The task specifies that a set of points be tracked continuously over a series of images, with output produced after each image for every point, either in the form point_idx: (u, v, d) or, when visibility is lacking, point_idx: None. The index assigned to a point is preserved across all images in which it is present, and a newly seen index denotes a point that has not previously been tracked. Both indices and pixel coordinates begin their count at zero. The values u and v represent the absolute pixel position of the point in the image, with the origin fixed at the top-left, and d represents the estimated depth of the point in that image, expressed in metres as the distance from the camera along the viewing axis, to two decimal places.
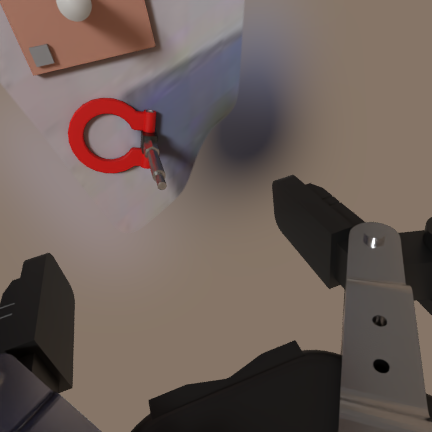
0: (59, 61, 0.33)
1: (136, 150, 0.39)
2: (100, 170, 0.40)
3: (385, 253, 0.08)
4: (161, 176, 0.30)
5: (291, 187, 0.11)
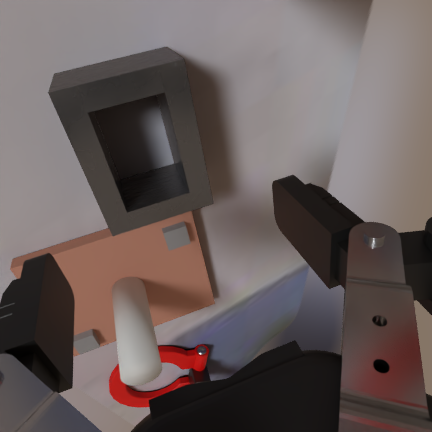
0: (105, 339, 0.28)
1: (184, 384, 0.35)
2: (142, 406, 0.35)
3: (385, 253, 0.08)
4: None
5: (291, 187, 0.11)
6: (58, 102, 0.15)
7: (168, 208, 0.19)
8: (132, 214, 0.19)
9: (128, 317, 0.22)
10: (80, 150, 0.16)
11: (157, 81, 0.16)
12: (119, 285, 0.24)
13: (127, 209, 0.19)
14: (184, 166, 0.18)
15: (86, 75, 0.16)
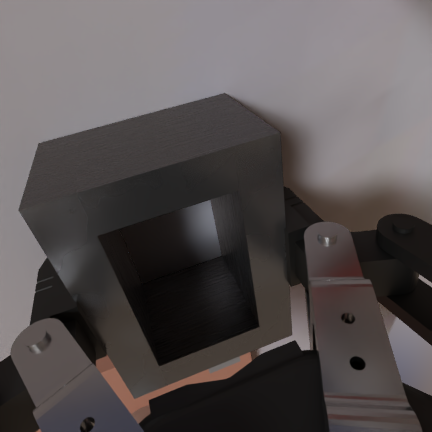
0: None
1: None
2: None
3: (335, 252, 0.09)
4: None
5: None
6: (39, 225, 0.07)
7: (224, 350, 0.12)
8: (167, 367, 0.11)
9: None
10: (82, 294, 0.09)
11: (228, 173, 0.08)
12: (138, 421, 0.17)
13: (159, 358, 0.12)
14: (256, 294, 0.11)
15: (94, 158, 0.09)
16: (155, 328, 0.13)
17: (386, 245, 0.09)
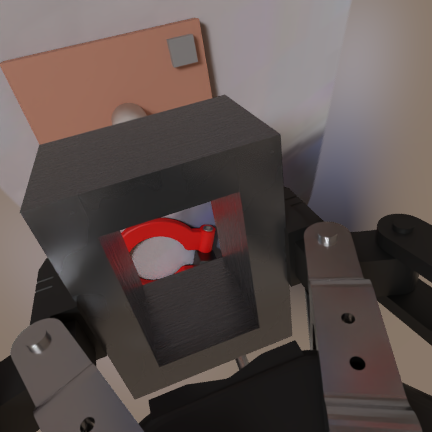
0: None
1: None
2: None
3: (335, 251, 0.09)
4: None
5: None
6: (41, 226, 0.07)
7: (224, 351, 0.12)
8: (168, 367, 0.11)
9: None
10: (83, 295, 0.09)
11: (228, 175, 0.08)
12: (120, 107, 0.22)
13: (159, 358, 0.12)
14: (256, 295, 0.11)
15: (95, 160, 0.09)
16: (155, 329, 0.13)
17: (386, 245, 0.09)
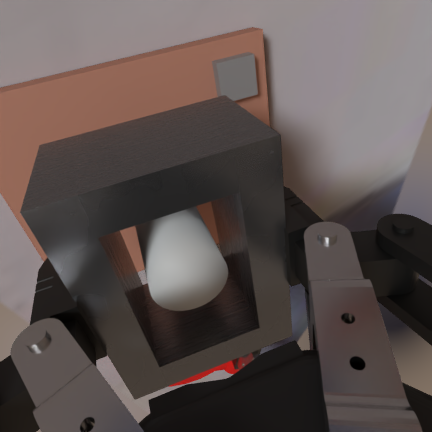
0: None
1: None
2: None
3: (335, 251, 0.09)
4: None
5: None
6: (41, 226, 0.07)
7: (224, 351, 0.12)
8: (168, 368, 0.11)
9: None
10: (83, 295, 0.09)
11: (228, 175, 0.08)
12: None
13: (159, 358, 0.12)
14: (256, 295, 0.11)
15: (95, 160, 0.09)
16: (155, 329, 0.13)
17: (386, 245, 0.09)
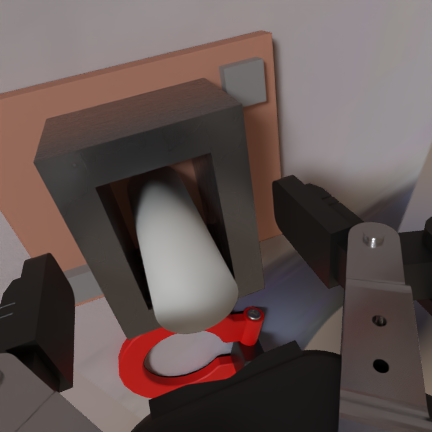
0: None
1: (225, 365, 0.24)
2: None
3: (384, 253, 0.08)
4: None
5: (291, 187, 0.11)
6: (49, 175, 0.09)
7: None
8: None
9: (164, 209, 0.11)
10: (83, 238, 0.11)
11: (201, 137, 0.10)
12: (142, 174, 0.14)
13: (149, 304, 0.14)
14: (230, 247, 0.13)
15: (93, 127, 0.11)
16: (146, 282, 0.15)
17: None
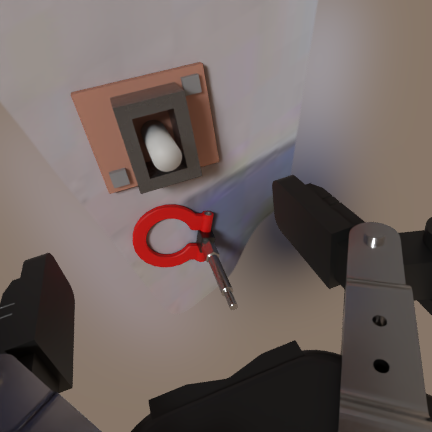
0: (133, 180, 0.35)
1: (193, 246, 0.42)
2: (158, 265, 0.42)
3: (385, 253, 0.08)
4: (231, 295, 0.33)
5: (291, 187, 0.11)
6: (117, 113, 0.28)
7: (174, 177, 0.32)
8: (153, 180, 0.32)
9: (156, 131, 0.30)
10: (126, 140, 0.29)
11: (169, 102, 0.28)
12: (147, 123, 0.32)
13: (150, 177, 0.32)
14: (184, 151, 0.31)
15: (130, 99, 0.29)
16: (149, 171, 0.33)
17: None
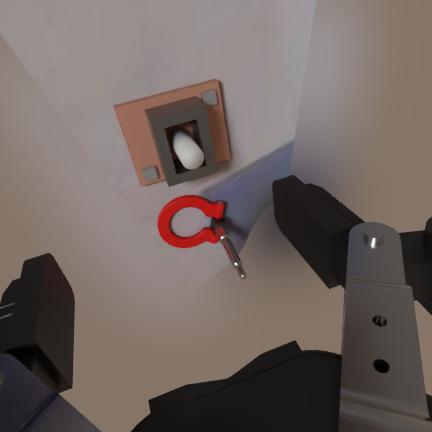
0: (160, 175, 0.43)
1: (207, 230, 0.50)
2: (178, 246, 0.50)
3: (385, 253, 0.08)
4: (241, 268, 0.41)
5: (291, 187, 0.11)
6: (153, 124, 0.35)
7: (195, 173, 0.40)
8: (179, 175, 0.39)
9: (182, 137, 0.37)
10: (159, 144, 0.37)
11: (193, 114, 0.36)
12: (173, 129, 0.40)
13: (176, 173, 0.39)
14: (204, 152, 0.39)
15: (162, 111, 0.36)
16: (174, 168, 0.40)
17: None
